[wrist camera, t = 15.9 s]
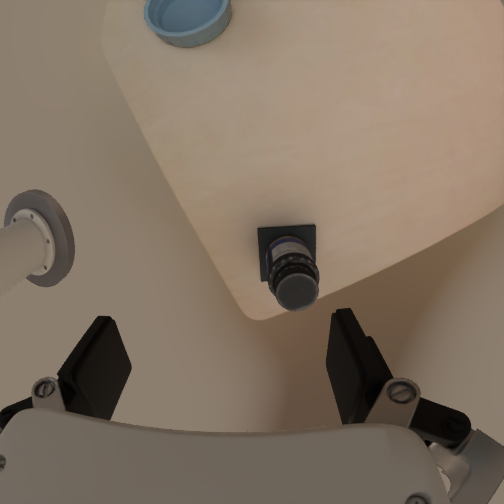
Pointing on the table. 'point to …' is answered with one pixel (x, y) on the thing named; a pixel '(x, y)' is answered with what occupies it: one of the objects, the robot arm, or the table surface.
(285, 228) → the mat
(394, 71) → the table surface
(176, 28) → the bowl
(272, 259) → the pill bottle
